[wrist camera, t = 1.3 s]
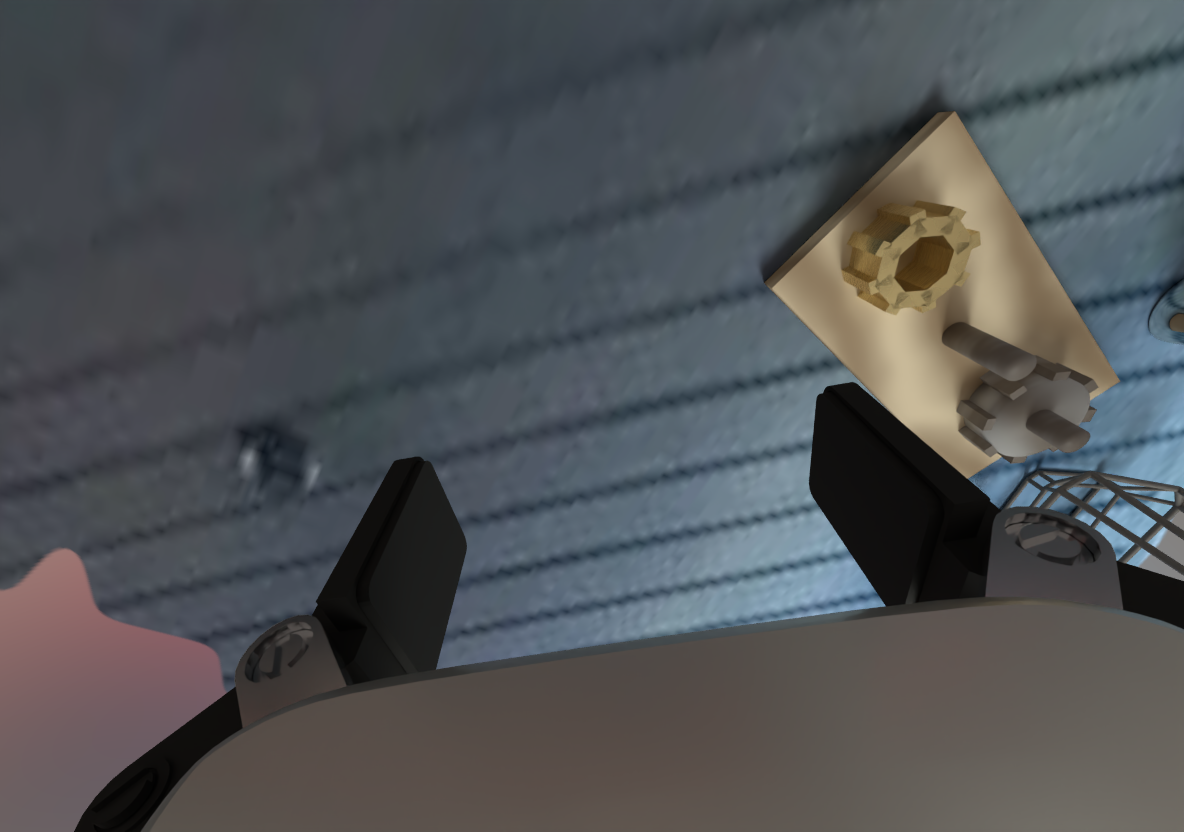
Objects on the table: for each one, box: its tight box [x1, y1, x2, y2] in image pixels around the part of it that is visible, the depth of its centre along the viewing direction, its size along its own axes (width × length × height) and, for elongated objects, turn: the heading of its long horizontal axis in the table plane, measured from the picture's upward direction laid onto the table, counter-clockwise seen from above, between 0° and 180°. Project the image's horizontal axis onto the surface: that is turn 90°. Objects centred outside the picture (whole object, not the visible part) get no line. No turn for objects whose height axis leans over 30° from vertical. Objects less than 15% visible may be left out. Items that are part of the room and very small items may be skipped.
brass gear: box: [841, 200, 981, 315], centre depth 30 cm, size 7×7×4 cm
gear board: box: [765, 111, 1120, 479], centre depth 34 cm, size 14×29×8 cm, turn 50°
